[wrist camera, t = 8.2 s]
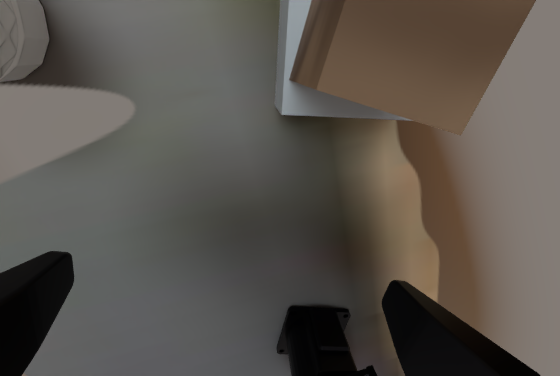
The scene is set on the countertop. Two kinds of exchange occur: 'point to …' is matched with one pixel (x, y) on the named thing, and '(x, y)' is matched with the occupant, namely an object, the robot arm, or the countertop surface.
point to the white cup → (21, 38)
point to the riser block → (303, 98)
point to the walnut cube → (408, 54)
